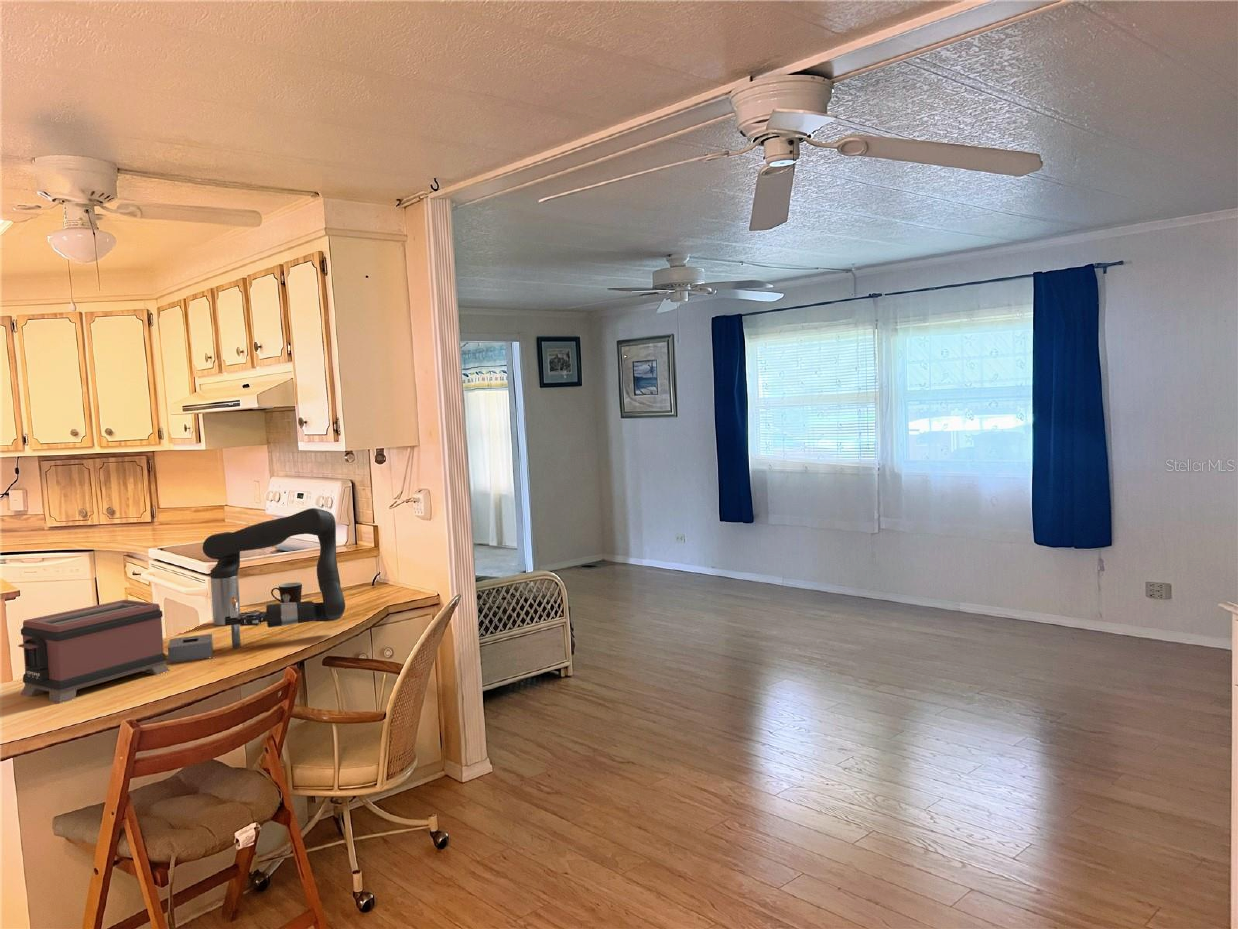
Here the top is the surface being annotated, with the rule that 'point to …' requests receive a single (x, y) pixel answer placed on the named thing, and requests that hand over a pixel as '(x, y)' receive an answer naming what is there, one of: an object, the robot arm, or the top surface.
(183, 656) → the block
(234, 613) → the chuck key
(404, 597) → the top surface
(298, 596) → the coffee mug
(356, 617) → the top surface
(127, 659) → the toaster
